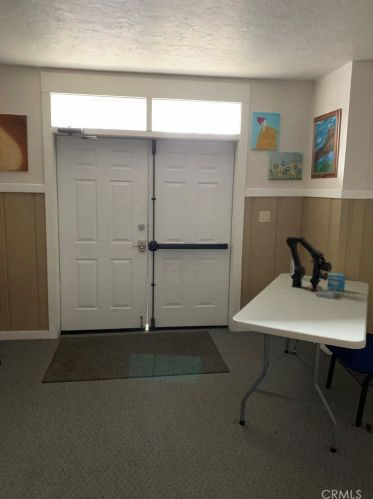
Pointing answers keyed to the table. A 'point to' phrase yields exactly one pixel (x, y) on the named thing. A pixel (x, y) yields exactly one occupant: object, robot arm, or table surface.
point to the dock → (326, 294)
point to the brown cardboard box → (316, 288)
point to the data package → (336, 282)
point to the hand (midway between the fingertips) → (315, 289)
